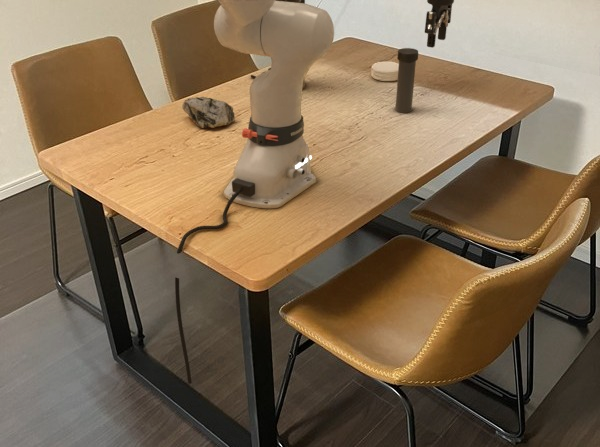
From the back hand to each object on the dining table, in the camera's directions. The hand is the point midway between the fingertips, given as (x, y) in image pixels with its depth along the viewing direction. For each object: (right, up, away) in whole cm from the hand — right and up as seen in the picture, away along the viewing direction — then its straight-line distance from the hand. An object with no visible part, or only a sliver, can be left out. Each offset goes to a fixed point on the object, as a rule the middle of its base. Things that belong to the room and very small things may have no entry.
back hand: (436, 43), depth 184 cm
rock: (-66, -25, -12) cm, 71 cm away
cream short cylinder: (-13, -6, +16) cm, 21 cm away
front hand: (-33, +13, -42) cm, 55 cm away
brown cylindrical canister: (-11, -21, -8) cm, 25 cm away
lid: (-11, -7, -16) cm, 21 cm away
